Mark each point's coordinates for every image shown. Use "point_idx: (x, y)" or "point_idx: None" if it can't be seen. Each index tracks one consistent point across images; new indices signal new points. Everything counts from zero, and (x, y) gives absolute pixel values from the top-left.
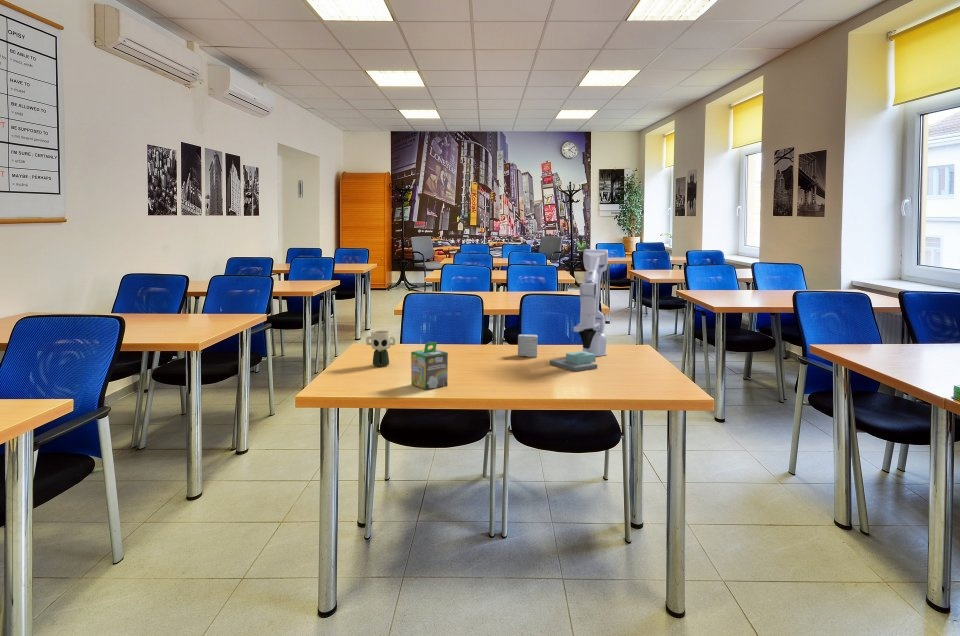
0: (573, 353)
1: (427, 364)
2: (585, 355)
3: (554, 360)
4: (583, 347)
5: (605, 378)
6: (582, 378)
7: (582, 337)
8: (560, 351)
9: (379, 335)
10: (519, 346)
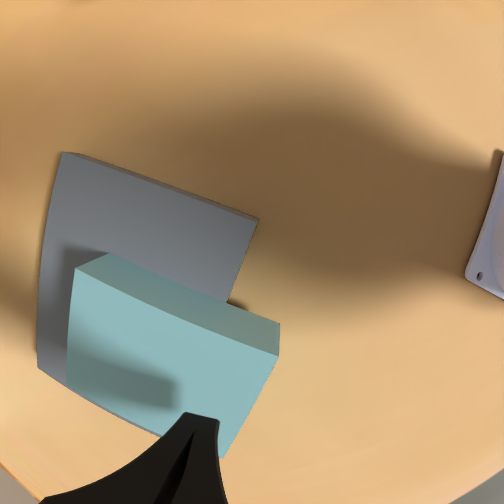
0: (113, 324)
1: None
2: (127, 417)
3: (72, 181)
4: (181, 416)
5: (77, 461)
6: (18, 401)
7: (124, 489)
8: (486, 29)
9: None
10: None
